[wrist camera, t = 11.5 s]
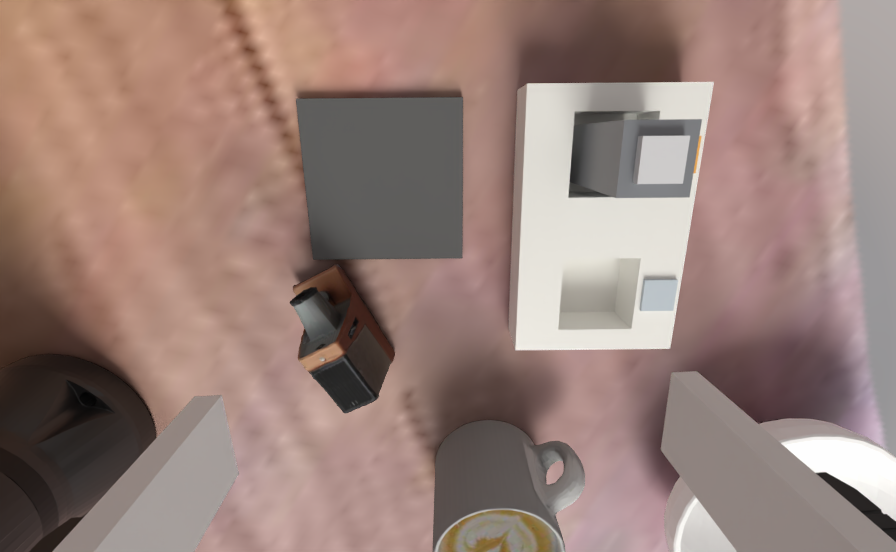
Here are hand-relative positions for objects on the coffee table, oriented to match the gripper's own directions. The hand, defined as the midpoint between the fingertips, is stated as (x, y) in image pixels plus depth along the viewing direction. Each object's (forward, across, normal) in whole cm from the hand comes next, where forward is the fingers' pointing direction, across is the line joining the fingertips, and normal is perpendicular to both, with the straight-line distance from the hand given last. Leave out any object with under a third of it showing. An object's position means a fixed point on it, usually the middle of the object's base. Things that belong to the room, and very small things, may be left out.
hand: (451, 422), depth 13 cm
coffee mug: (+23, +6, -21) cm, 32 cm away
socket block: (+23, +12, +2) cm, 26 cm away
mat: (+23, -4, +5) cm, 24 cm away
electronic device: (+24, -8, -6) cm, 26 cm away
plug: (+22, +12, +7) cm, 26 cm away
